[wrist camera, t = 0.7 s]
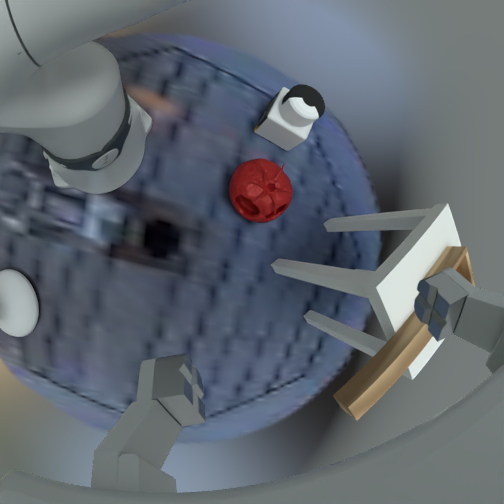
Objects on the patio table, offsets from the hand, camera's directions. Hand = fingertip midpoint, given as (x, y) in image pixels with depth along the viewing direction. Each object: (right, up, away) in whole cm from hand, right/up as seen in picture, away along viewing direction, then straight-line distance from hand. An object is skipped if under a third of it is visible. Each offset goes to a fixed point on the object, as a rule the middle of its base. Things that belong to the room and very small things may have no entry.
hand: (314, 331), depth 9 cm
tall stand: (+10, -1, +42) cm, 43 cm away
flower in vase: (-42, -6, +25) cm, 50 cm away
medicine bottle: (+3, +25, +39) cm, 46 cm away
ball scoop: (+14, -5, +16) cm, 22 cm away
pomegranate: (-2, +12, +38) cm, 40 cm away
